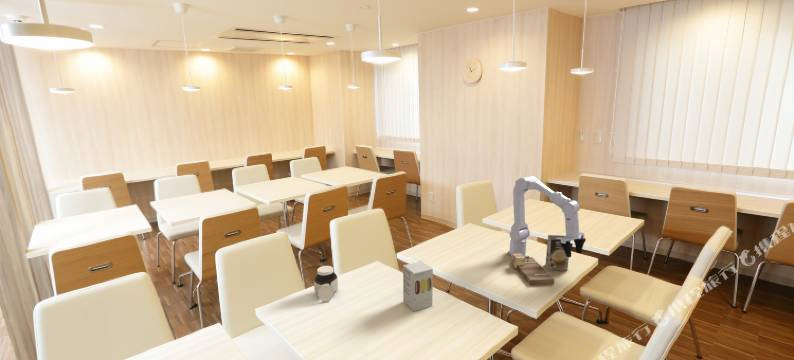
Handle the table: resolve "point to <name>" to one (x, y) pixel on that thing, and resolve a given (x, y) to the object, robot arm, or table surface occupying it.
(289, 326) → the table surface
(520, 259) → the beige block
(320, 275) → the spread jar
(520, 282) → the table surface
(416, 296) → the supplement box
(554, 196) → the robot arm
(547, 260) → the coffee box
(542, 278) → the walnut board
